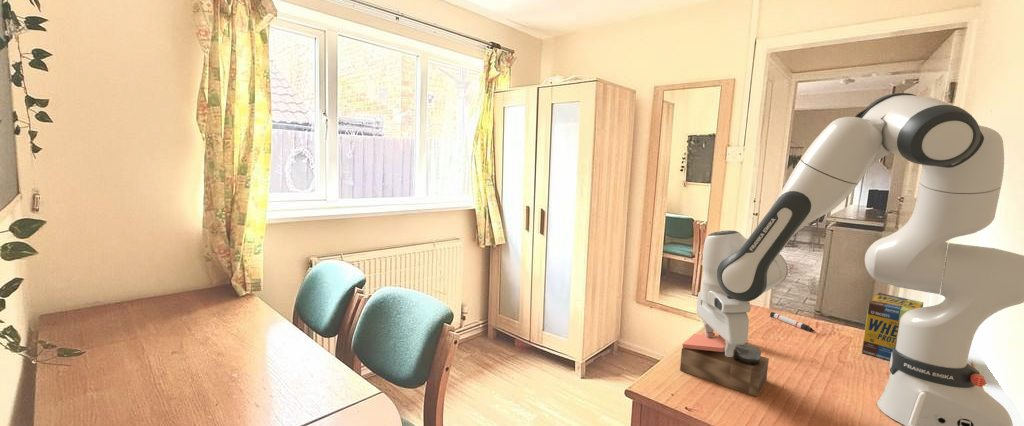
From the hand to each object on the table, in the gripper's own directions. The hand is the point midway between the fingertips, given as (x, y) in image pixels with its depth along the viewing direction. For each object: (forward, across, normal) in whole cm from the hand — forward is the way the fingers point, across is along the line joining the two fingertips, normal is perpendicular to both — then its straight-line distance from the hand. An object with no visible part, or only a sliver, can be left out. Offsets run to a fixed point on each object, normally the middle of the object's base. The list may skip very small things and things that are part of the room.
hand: (718, 346), depth 110 cm
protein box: (+11, -17, +58) cm, 62 cm away
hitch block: (+8, 0, +1) cm, 8 cm away
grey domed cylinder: (+7, +3, +5) cm, 9 cm away
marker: (+10, -37, +42) cm, 57 cm away
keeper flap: (0, -2, -2) cm, 3 cm away
